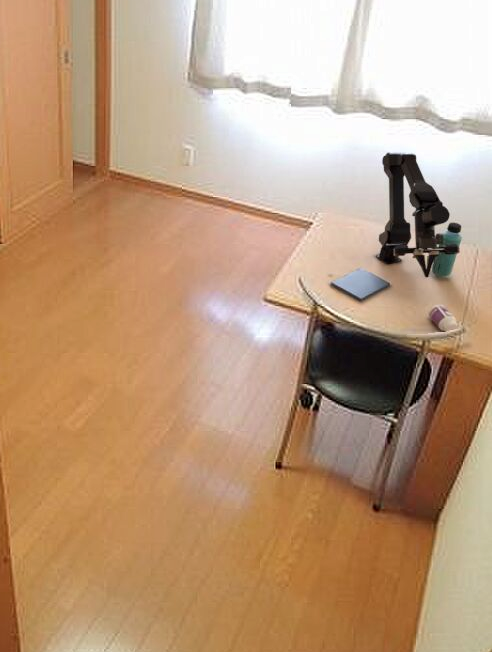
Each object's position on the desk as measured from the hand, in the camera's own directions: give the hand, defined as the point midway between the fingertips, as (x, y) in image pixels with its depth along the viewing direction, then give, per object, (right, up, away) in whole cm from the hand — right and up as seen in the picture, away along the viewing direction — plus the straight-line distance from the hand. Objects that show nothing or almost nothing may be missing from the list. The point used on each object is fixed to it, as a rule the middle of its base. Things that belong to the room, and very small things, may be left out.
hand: (426, 277), depth 206 cm
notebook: (-17, -3, +13) cm, 21 cm away
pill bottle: (+1, -10, -3) cm, 11 cm away
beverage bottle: (+13, 0, +20) cm, 24 cm away
